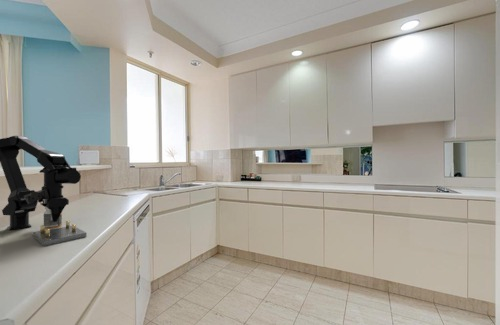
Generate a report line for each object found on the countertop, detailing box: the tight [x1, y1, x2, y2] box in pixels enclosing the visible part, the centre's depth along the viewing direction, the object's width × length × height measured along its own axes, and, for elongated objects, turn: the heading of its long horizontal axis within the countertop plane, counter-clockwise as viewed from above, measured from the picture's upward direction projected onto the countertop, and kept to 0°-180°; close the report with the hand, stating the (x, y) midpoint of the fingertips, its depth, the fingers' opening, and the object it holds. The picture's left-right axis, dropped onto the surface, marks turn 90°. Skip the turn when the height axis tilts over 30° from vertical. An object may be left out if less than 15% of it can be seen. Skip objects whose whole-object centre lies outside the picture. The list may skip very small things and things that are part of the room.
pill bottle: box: [43, 206, 63, 230], centre depth 93 cm, size 6×6×10 cm
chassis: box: [32, 220, 87, 247], centre depth 83 cm, size 16×12×4 cm
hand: (52, 220), depth 93 cm, fingers closed on pill bottle, 6 cm apart
